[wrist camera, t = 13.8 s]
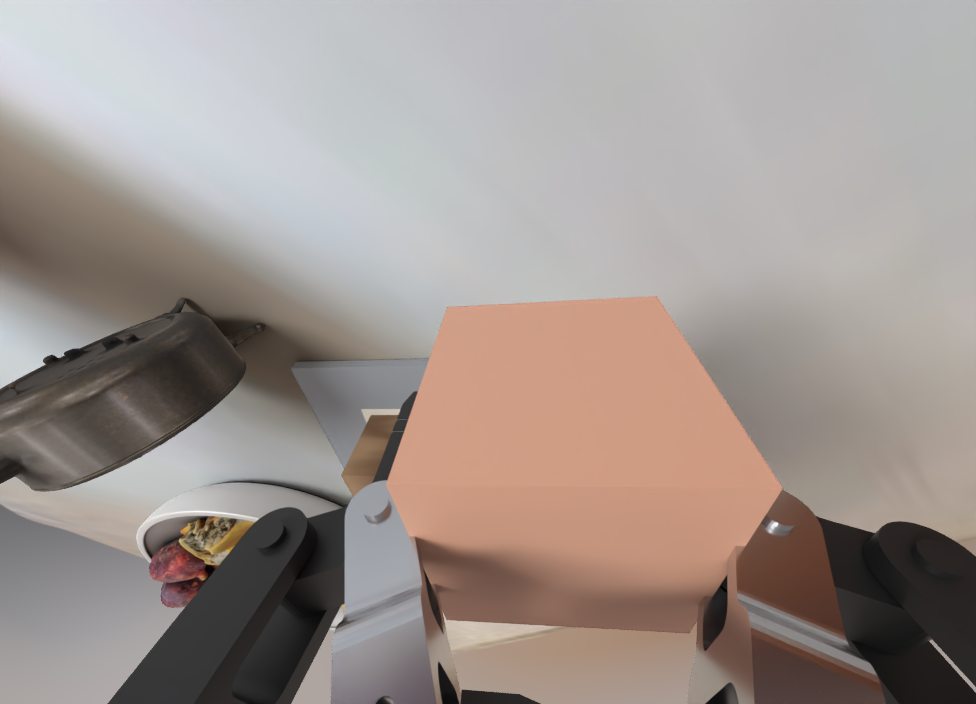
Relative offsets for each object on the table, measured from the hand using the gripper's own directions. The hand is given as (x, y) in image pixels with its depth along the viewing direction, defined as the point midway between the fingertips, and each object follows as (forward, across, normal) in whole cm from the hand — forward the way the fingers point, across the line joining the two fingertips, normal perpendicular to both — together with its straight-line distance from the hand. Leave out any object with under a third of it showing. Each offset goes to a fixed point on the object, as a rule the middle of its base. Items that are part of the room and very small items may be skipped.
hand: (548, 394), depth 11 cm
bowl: (+13, +30, +36) cm, 49 cm away
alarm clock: (+12, +24, +4) cm, 27 cm away
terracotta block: (+1, 0, 0) cm, 1 cm away
